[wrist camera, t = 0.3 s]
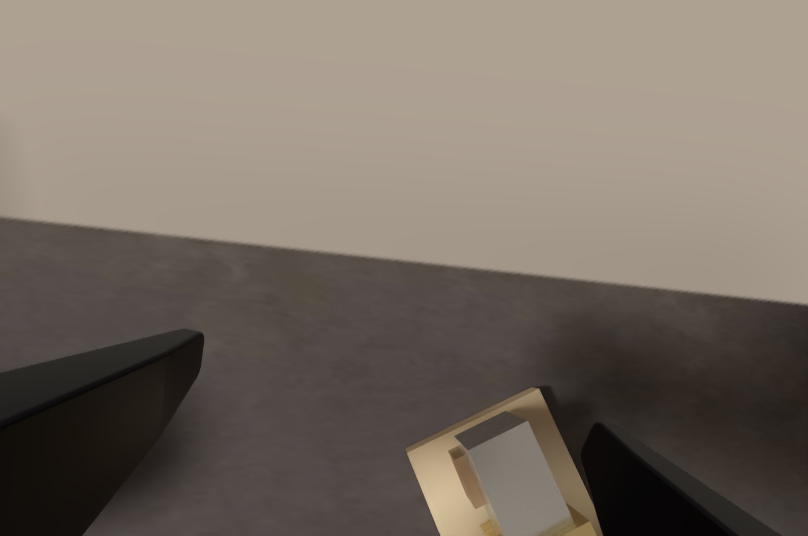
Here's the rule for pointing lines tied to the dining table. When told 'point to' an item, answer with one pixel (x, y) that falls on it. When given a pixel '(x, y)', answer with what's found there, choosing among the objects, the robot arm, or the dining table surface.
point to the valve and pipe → (517, 481)
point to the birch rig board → (449, 489)
